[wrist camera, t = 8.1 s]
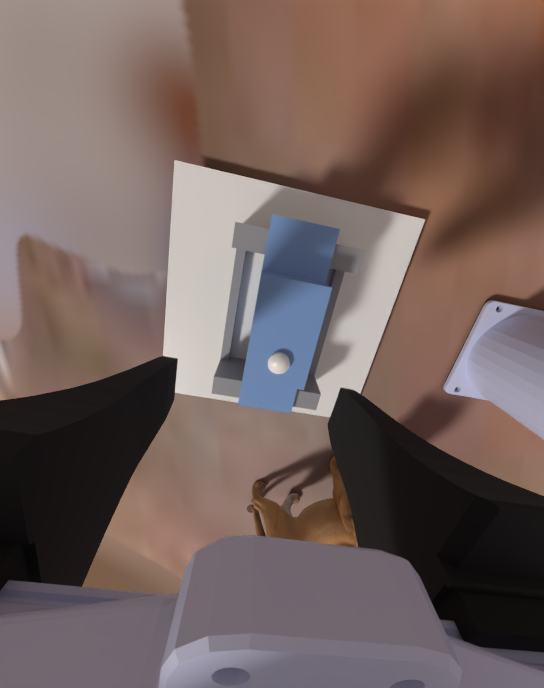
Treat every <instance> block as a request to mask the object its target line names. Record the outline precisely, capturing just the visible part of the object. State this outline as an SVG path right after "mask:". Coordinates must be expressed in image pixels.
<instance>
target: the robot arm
mask: <svg viewBox="0 0 544 688" xmlns="http://www.w3.org/2000/svg"><path fill="white" fill-rule="evenodd" d="M498 306H499V308H498V310H496V308H497V307H498ZM177 363H178V359H177V358H172V357H166V356H162V357H159V358H156V359H153V360H151V361H149V362H146V363H144V364H141V365H139V366H137V367H134V368H132V369H129V370H127V371H124V372H121V373H119V374H116V375H113V376H110V377H108V378H105V379H102V380H99V381H96V382H92V383H89V384H85V385H81V386H78V387H74V388H70V389H65V390H60V391H55V392H51V393H46V394H41V395H36V396H30V397H23V398H17V399H9V400H2V401H0V688H544V496H541V495H539V494H536V493H534V492H531V491H529V490H526V489H524V488H521V487H518V486H516V485H513V484H511V483H508V482H506V481H503V480H501V479H499V478H497V477H494V476H492V475H490V474H488V473H486V472H483V471H481V470H479V469H477V468H475V467H473V466H471V465H469V464H467V463H465V462H463V461H461V460H459V459H457V458H455V457H453V456H451V455H449V454H447V453H446V452H444V451H442V450H440V449H438V448H437V447H435V446H433V445H432V444H430V443H428V442H427V441H425V440H423V439H422V438H420V437H419V436H417V435H416V434H414V433H412V432H411V431H410V430H408V429H407V428H405V427H404V426H402V425H401V424H400V423H398V422H397V421H395V420H394V419H393V418H391V417H390V416H389V415H387V414H386V413H385V412H383V411H382V410H381V409H380V408H378V407H377V406H376V405H374V404H373V403H372V402H370V401H369V400H368V399H367V398H365V397H364V396H362V395H361V394H360V393H358V392H356V391H355V390H352V389H346V388H340V391H339V394H338V396H337V399H336V402H335V405H334V408H333V411H332V414H331V416H330V419H329V422H328V430H329V437H330V442H331V446H332V450H333V453H334V456H335V459H336V462H337V466H338V469H339V472H340V475H341V478H342V481H343V484H344V487H345V490H346V493H347V497H348V501H349V504H350V509H351V514H352V518H353V523H354V528H355V533H356V538H357V543H358V547H350V546H342V545H333V544H325V543H316V542H307V541H299V540H290V539H282V538H273V537H265V536H256V535H249V536H232V537H224V538H222V539H220V540H217V541H215V542H213V543H211V544H209V545H207V546H205V547H203V548H201V549H200V550H198V551H196V553H195V554H194V556H193V558H192V559H191V561H190V562H189V564H188V566H187V567H186V569H185V571H184V576H183V580H182V584H181V588H180V592H179V593H177V594H168V595H165V594H155V593H154V594H153V593H143V592H133V591H121V590H110V589H100V588H89V587H82V585H83V583H84V580H85V578H86V576H87V573H88V571H89V568H90V566H91V564H92V561H93V559H94V557H95V555H96V552H97V550H98V548H99V546H100V543H101V541H102V538H103V536H104V534H105V532H106V530H107V527H108V525H109V523H110V521H111V519H112V516H113V514H114V512H115V510H116V508H117V506H118V503H119V501H120V499H121V497H122V495H123V493H124V491H125V489H126V487H127V485H128V483H129V480H130V478H131V476H132V474H133V472H134V471H135V469H136V467H137V465H138V463H139V462H140V460H141V459H142V457H143V455H144V454H145V452H146V450H147V449H148V447H149V446H150V444H151V442H152V441H153V439H154V437H155V436H156V434H157V433H158V431H159V429H160V428H161V426H162V424H163V423H164V421H165V419H166V417H167V415H168V413H169V410H170V408H171V406H172V403H173V401H174V395H175V384H176V374H177ZM456 387H457V389H455V388H456ZM443 389H444V390H445V391H446V392H447V393H449V394H455V395H460V396H466V397H472V398H477V399H483V400H489V401H491V402H492V403H493V404H495V405H496V406H498V407H499V408H500V409H502V410H503V411H505V412H506V413H507V414H509V415H510V416H512V417H513V418H514V419H516V420H517V421H519V422H520V423H521V424H523V425H524V426H526V427H527V428H528V429H530V430H531V431H532V432H534V433H535V434H537V435H538V436H539V437H541V438H542V439H544V311H541V310H537V309H532V308H527V307H523V306H518V305H513V304H509V303H504V302H499V301H494V300H490V301H487V302H486V303H485V304H484V306H483V308H482V310H481V312H480V314H479V316H478V318H477V320H476V322H475V324H474V326H473V328H472V330H471V332H470V334H469V336H468V338H467V340H466V342H465V344H464V346H463V348H462V350H461V352H460V354H459V356H458V358H457V360H456V362H455V364H454V366H453V368H452V370H451V372H450V374H449V376H448V378H447V380H446V382H445V384H444V387H443ZM454 389H455V390H454Z"/></svg>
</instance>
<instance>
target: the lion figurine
mask: <svg viewBox="0 0 544 688" xmlns="http://www.w3.org/2000/svg"><path fill="white" fill-rule="evenodd" d="M330 472H331V474H332V477H333V487H334V488H333V498H331V499H325V500H321V501H318V502H316V503H313V504H311V505H309V506H308V507H306V508H305V509H304V510H303V511H302V512H301V513H300V514H299V516H298V517H292V515H291V512H290V508H291V505H292V504H296V503H298V502H299V500H300V497H299V495H298V494H297V493H291V494H289V495H288V496H287V498H286V500H285V501H284V503H283V504H282V506H280V505H278V504H277V503H276V502H273V501H271V500H268V499H266V498H264V497H262V496H260V493H262V492H264V491H265V488H266V485H265V484H264V483H263V482H262V481H257V482H255V483H254V484H253V488H252V497H253V505H249V506H248V507H247V510H248V512H250V513H252V512H253V513H254V522H255V528H256V533H257V536H265V537H266V536H267V537H273V538H282V539H290V540H299V541H307V542H316V543H325V544H333V545H342V546H350V547H358V543H357V538H356V533H355V528H354V523H353V518H352V514H351V509H350V504H349V501H348V497H347V493H346V490H345V487H344V484H343V481H342V478H341V475H340V472H339V469H338V466H337V462H336V459H335V456H333V457H332V459H331V461H330ZM259 512H260V513H261V515H262V516H263V518H264V522H265V527H266V535H265V532H264V529H263V526H262V523H261V519H260V515H259Z"/></svg>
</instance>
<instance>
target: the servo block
mask: <svg viewBox="0 0 544 688" xmlns="http://www.w3.org/2000/svg"><path fill="white" fill-rule="evenodd" d="M339 231H340V229H337V228H333V227H328V226H324V225H319V224H315V223H310V222H306V221H301V220H297V219H292V218H288V217H283V216H279V215H274V214H272V216H271V222H270V228H269V233H268V239H267V244H266V250H265V255H264V261H263V266H262V272H261V277H260V283H259V288H258V294H257V300H256V305H255V311H254V316H253V322H252V327H251V333H250V339H249V344H248V350H247V356H246V361H245V367H244V373H243V378H242V384H241V390H240V395H239V401H238V405H241V406H247V407H254V408H260V409H267V410H273V411H280V412H286V413H291V411H292V407H293V403H294V399H295V396H296V392H297V389H299V390H304V388H305V384H306V381H307V377H308V373H309V370H310V366H311V363H312V359H313V355H314V352H315V348H316V345H317V341H318V337H319V334H320V330H321V327H322V323H323V320H324V316H325V312H326V309H327V305H328V302H329V298H330V294H331V291H332V287H331V286H329V285H328V284H326V280H327V276H328V272H329V269H330V265H331V261H332V257H333V254H334V250H335V246H336V242H337V239H338V235H339Z"/></svg>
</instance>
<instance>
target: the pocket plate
mask: <svg viewBox="0 0 544 688" xmlns="http://www.w3.org/2000/svg"><path fill="white" fill-rule="evenodd" d="M272 214H274V215H279V216H283V217H288V218H292V219H297V220H301V221H306V222H310V223H315V224H319V225H324V226H328V227H333V228H337V229H340V231H339V235H338V239H337V242H336V246H335V250H334V254H333V257H332V261H331V265H330V269H329V272H328V276H327V280H326V284H328V285H329V286H331V287H332V291H331V294H330V298H329V302H328V305H327V309H326V312H325V316H324V320H323V323H322V327H321V330H320V334H319V337H318V341H317V345H316V348H315V352H314V355H313V359H312V363H311V366H310V370H309V373H308V377H307V381H306V384H305V388H304V390H299V389H297V392H296V396H295V399H294V403H293V407H292V411H294V412H300V413H306V414H312V415H319V416H325V417H330V416H331V414H332V411H333V408H334V405H335V402H336V399H337V396H338V394H339V391H340V388H346V389H352V390H355V391H356V392H358V393H361V391H362V388H363V385H364V383H365V380H366V377H367V375H368V372H369V369H370V367H371V364H372V361H373V359H374V356H375V353H376V351H377V348H378V345H379V343H380V340H381V337H382V334H383V332H384V329H385V326H386V324H387V321H388V318H389V316H390V313H391V310H392V308H393V305H394V302H395V300H396V297H397V294H398V292H399V289H400V286H401V283H402V281H403V278H404V275H405V273H406V270H407V267H408V265H409V262H410V259H411V257H412V254H413V251H414V249H415V246H416V243H417V241H418V238H419V235H420V233H421V230H422V227H423V224H424V222H425V219H421V218H417V217H413V216H409V215H404V214H400V213H396V212H392V211H388V210H383V209H379V208H375V207H371V206H366V205H362V204H358V203H354V202H350V201H345V200H341V199H337V198H333V197H328V196H324V195H320V194H316V193H312V192H307V191H303V190H299V189H295V188H291V187H286V186H282V185H278V184H274V183H269V182H265V181H261V180H257V179H253V178H248V177H244V176H240V175H236V174H231V173H227V172H223V171H219V170H215V169H210V168H206V167H202V166H197V165H193V164H189V163H185V162H181V161H176V160H175V162H174V179H173V196H172V213H171V230H170V247H169V265H168V280H167V297H166V314H165V331H164V348H163V356H166V357H172V358H177V359H178V363H177V374H176V384H175V393H180V394H187V395H193V396H199V397H206V398H212V399H218V400H224V401H231V402H237V403H238V401H239V395H240V390H241V384H242V378H243V373H244V367H245V361H246V356H247V350H248V344H249V339H250V333H251V327H252V322H253V316H254V311H255V305H256V300H257V294H258V288H259V283H260V277H261V272H262V266H263V261H264V255H265V250H266V244H267V239H268V233H269V228H270V222H271V216H272Z"/></svg>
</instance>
